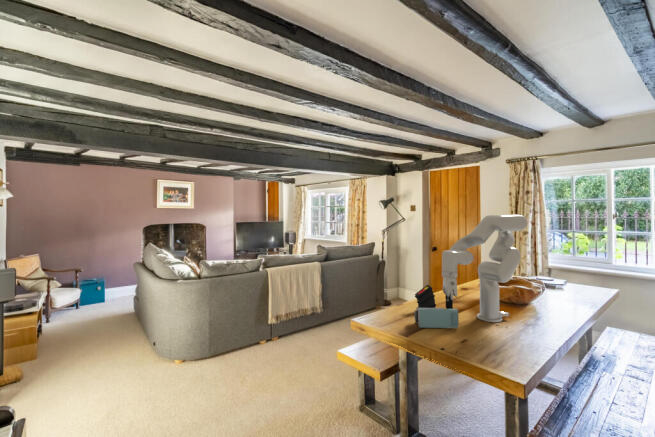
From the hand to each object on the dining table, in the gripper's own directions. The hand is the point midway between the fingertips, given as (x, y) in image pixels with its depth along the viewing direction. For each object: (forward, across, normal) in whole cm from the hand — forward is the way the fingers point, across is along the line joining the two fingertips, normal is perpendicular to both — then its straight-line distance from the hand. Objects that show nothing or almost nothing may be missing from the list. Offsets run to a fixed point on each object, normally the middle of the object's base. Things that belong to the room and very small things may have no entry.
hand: (449, 308), depth 161 cm
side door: (+8, -6, +7) cm, 12 cm away
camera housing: (+9, -1, +9) cm, 13 cm away
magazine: (+9, +22, +7) cm, 25 cm away
